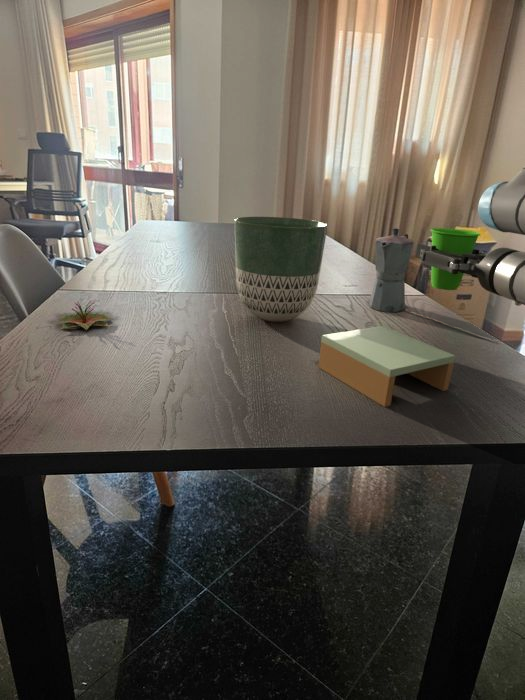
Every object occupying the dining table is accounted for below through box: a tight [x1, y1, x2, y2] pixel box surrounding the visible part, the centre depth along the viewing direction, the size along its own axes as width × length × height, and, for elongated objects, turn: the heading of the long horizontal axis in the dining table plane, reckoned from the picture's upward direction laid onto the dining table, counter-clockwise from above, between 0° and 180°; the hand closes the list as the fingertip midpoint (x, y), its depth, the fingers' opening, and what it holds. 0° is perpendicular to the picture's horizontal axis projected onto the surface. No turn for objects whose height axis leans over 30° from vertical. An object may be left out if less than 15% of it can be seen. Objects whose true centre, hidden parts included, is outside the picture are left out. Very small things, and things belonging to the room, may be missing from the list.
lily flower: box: [53, 300, 115, 331], centre depth 95 cm, size 12×12×5 cm
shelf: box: [318, 325, 456, 408], centre depth 77 cm, size 16×14×6 cm
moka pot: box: [368, 228, 414, 313], centre depth 118 cm, size 10×15×20 cm, turn 145°
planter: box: [234, 216, 328, 323], centre depth 103 cm, size 20×20×21 cm
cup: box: [430, 227, 481, 291], centre depth 92 cm, size 9×9×11 cm
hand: (438, 250), depth 96 cm, fingers closed on cup, 8 cm apart
